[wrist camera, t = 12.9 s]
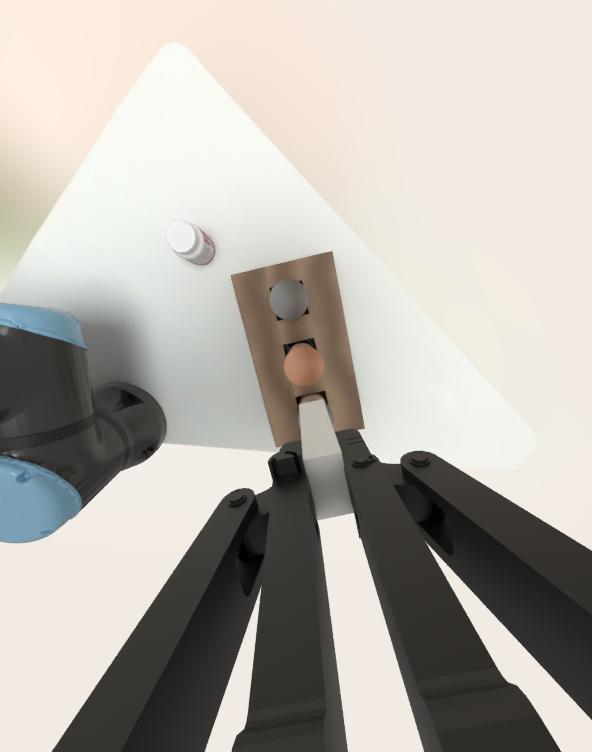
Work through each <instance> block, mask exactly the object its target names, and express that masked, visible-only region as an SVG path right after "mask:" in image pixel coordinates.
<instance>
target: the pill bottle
mask: <svg viewBox="0 0 592 752" xmlns="http://www.w3.org/2000/svg"><path fill="white" fill-rule="evenodd" d="M165 239H166V242H167V244H168V246H169V247H170V248H171V249H172V250H173V251H174V252H175V253H176V254H177V255H178V256H180V257H181V258H184V259H186V260H188V261H190V262H192V263H194V264H196V265H205V264H207V263H209V262H210V261H211V260H212V259H213V257H214V254H215V247H214V244H213V242H212V240H211V239H210V238H209V237H208V236H207V235H206V234H205V233H204V232H203V231H201V230H200V229H199V228H198V227H197V226H195V225H194V224H192V223H189V222H186V221H184V220H174V221H172V222H170V223H169V224H168V225H167V227H166V230H165Z"/></svg>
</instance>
